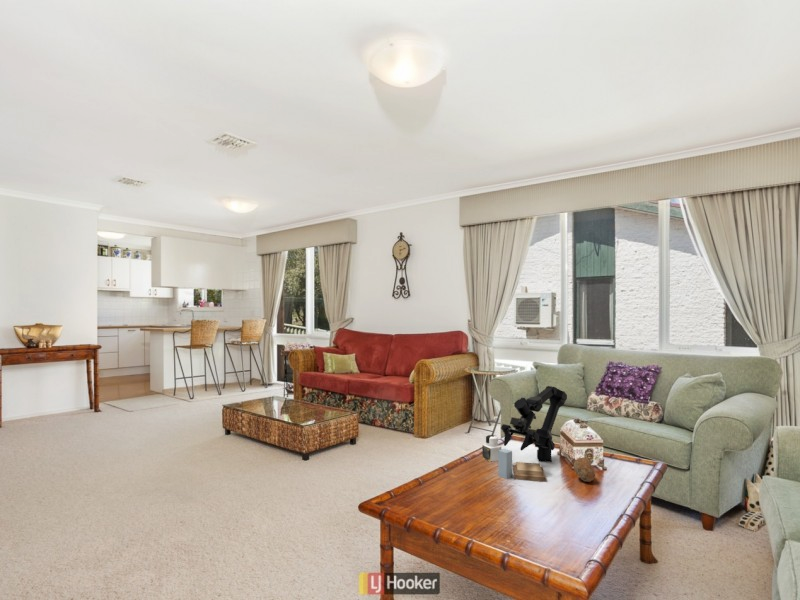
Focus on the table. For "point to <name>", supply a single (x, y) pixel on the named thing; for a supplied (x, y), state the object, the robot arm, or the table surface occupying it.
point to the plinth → (529, 477)
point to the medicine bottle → (491, 448)
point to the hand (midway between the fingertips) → (512, 447)
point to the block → (505, 463)
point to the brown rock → (584, 469)
